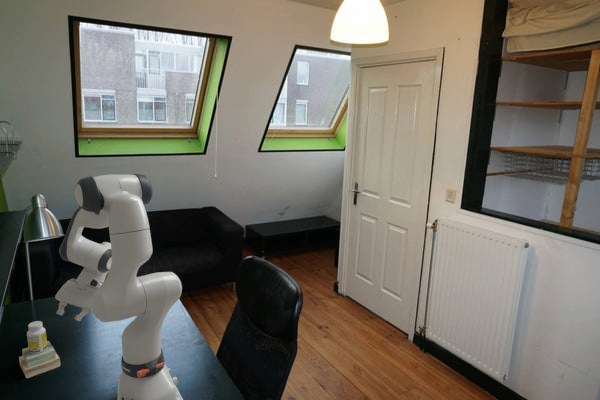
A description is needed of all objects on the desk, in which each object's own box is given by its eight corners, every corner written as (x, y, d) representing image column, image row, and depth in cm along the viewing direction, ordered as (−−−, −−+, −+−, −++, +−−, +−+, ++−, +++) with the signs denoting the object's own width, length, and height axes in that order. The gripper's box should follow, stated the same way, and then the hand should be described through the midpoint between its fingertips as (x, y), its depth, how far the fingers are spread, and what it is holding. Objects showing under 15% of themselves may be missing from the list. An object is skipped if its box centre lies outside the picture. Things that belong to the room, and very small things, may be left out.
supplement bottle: (44, 343, 143) (41, 318, 141) (50, 349, 139) (47, 323, 137) (26, 350, 138) (23, 324, 136) (32, 356, 135) (29, 329, 133)
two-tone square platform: (60, 366, 140) (59, 350, 139) (26, 378, 133) (24, 362, 132) (52, 353, 147) (51, 338, 146) (19, 364, 140) (17, 349, 139)
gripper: (64, 274, 156) (42, 308, 150) (103, 284, 149) (81, 320, 142) (75, 280, 161) (54, 314, 155) (113, 291, 154) (93, 326, 147)
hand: (67, 317), depth 148 cm, fingers open, 8 cm apart
